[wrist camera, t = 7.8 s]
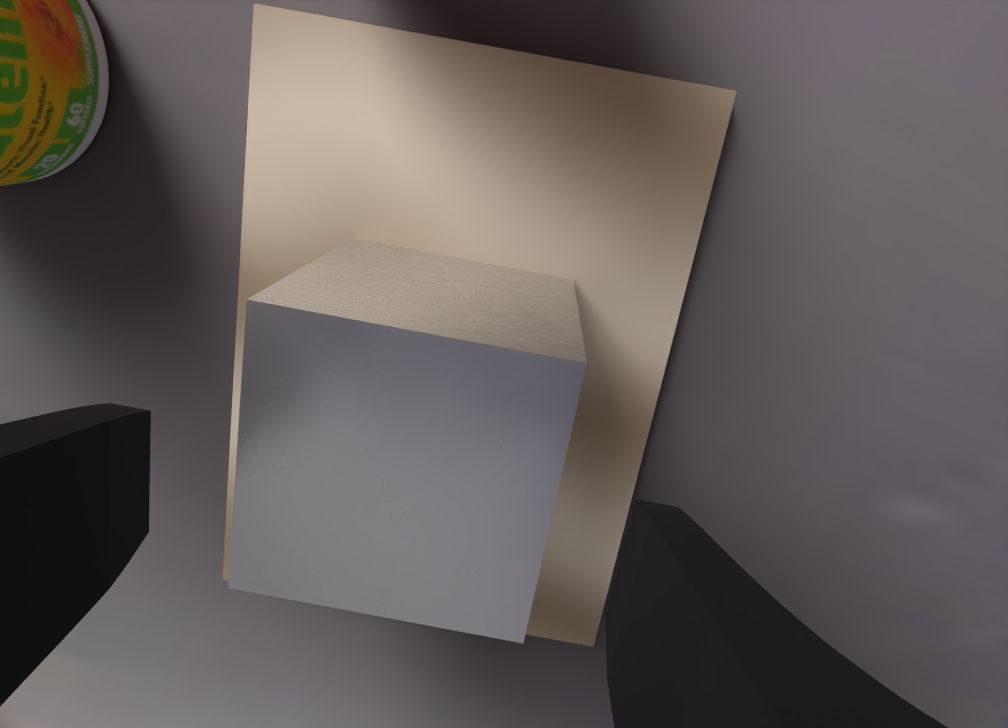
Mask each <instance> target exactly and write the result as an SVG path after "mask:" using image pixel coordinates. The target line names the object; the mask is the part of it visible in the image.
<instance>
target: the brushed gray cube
mask: <svg viewBox="0 0 1008 728" xmlns="http://www.w3.org/2000/svg"><path fill="white" fill-rule="evenodd" d="M586 365H587V361H586V354H585V348H584V342H583V336H582V330H581V324H580V318H579V311H578V305H577V299H576V293H575V287H574V281H573V279H567V278H562V277H557V276H551V275H546V274H541V273H536V272H530V271H525V270H520V269H514V268H509V267H504V266H498V265H493V264H488V263H482V262H477V261H472V260H466V259H461V258H456V257H450V256H445V255H440V254H435V253H429V252H424V251H419V250H413V249H408V248H403V247H397V246H392V245H387V244H381V243H376V242H371V241H365V240H360V239H355V238H352V239H351V240H349V241H347V242H345V243H344V244H342V245H340V246H338V247H337V248H335V249H333V250H332V251H330V252H328V253H326V254H325V255H323V256H321V257H319V258H318V259H316V260H314V261H312V262H311V263H309V264H307V265H305V266H304V267H302V268H300V269H299V270H297V271H295V272H293V273H292V274H290V275H288V276H286V277H285V278H283V279H281V280H279V281H278V282H276V283H274V284H272V285H271V286H269V287H267V288H266V289H264V290H262V291H260V292H259V293H257V294H255V295H253V296H252V297H250V298H248V299H247V301H246V317H245V332H244V347H243V363H242V378H241V394H240V409H239V424H238V440H237V455H236V470H235V486H234V501H233V517H232V532H231V547H230V563H229V578H228V588H230V589H236V590H241V591H246V592H252V593H257V594H262V595H268V596H273V597H278V598H284V599H289V600H294V601H300V602H305V603H310V604H316V605H321V606H326V607H332V608H337V609H342V610H348V611H353V612H358V613H364V614H369V615H374V616H379V617H385V618H390V619H395V620H401V621H406V622H411V623H417V624H422V625H427V626H433V627H438V628H443V629H449V630H454V631H459V632H465V633H470V634H475V635H481V636H486V637H491V638H497V639H502V640H507V641H513V642H518V643H524V638H525V634H526V629H527V625H528V621H529V616H530V612H531V607H532V603H533V599H534V594H535V590H536V585H537V581H538V577H539V572H540V568H541V563H542V559H543V555H544V550H545V546H546V541H547V537H548V533H549V528H550V524H551V519H552V515H553V511H554V506H555V502H556V497H557V493H558V489H559V484H560V480H561V475H562V471H563V467H564V462H565V458H566V453H567V449H568V445H569V440H570V436H571V431H572V427H573V423H574V418H575V414H576V409H577V405H578V401H579V396H580V392H581V387H582V383H583V379H584V374H585V370H586Z"/></svg>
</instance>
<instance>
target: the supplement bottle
mask: <svg viewBox="0 0 1008 728" xmlns="http://www.w3.org/2000/svg"><path fill="white" fill-rule="evenodd" d="M108 90H109V69H108V60H107V54H106V49H105V45H104V41H103V38H102V34H101V32H100V29H99V26H98V23H97V21H96V19H95V16H94V14H93V12H92V10H91V8H90V6H89V4H88V3H87V1H86V0H0V186H5V185H13V184H19V183H25V182H30V181H34V180H39V179H42V178H45V177H48V176H51V175H53V174H55V173H57V172H59V171H60V170H62V169H64V168H66V167H67V166H69V165H70V164H71V163H73V162H74V161H75V160H76V159H77V158H78V157H79V156H80V155H81V154H82V153H83V152H84V151H85V150H86V148H87V147H88V146H89V145H90V143H91V142H92V140H93V138H94V137H95V135H96V133H97V131H98V129H99V127H100V125H101V123H102V120H103V117H104V114H105V110H106V105H107V99H108Z"/></svg>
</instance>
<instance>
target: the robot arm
mask: <svg viewBox="0 0 1008 728" xmlns="http://www.w3.org/2000/svg"><path fill="white" fill-rule="evenodd" d="M150 427H151V411H149V410H143V409H138V408H132V407H127V406H121V405H116V404H111V403H109V404H98V405H90V406H84V407H78V408H72V409H67V410H62V411H58V412H53V413H48V414H44V415H39V416H35V417H30V418H26V419H22V420H17V421H13V422H9V423H4V424H0V706H1V705H2V704H3V703H4V702H5V701H6V700H7V699H8V697H9V696H10V695H11V694H12V693H13V692H14V691H15V690H16V689H17V688H18V687H19V686H20V685H21V684H22V682H23V681H24V680H25V679H26V678H27V677H28V676H29V675H30V674H31V673H32V672H33V671H34V670H35V669H36V668H37V666H38V665H39V664H40V663H41V662H42V661H43V660H44V659H45V658H46V657H47V656H48V655H49V654H50V653H51V652H52V650H53V649H54V648H55V647H56V646H57V645H58V644H59V643H60V642H61V641H62V640H63V639H64V638H65V637H66V636H67V634H68V633H69V632H70V631H71V630H72V629H73V628H74V627H75V626H76V625H77V624H78V623H79V621H80V620H81V619H82V618H83V617H84V616H85V615H86V614H87V613H88V612H89V611H90V609H91V608H92V607H93V606H94V605H95V604H96V603H97V602H98V601H99V600H100V598H101V597H102V596H103V595H104V594H105V593H106V592H107V591H108V590H109V588H110V587H111V586H112V584H113V583H114V582H115V580H116V579H117V578H118V576H119V575H120V573H121V572H122V571H123V569H124V568H125V567H126V565H127V564H128V562H129V561H130V559H131V558H132V556H133V555H134V553H135V552H136V550H137V549H138V547H139V546H140V544H141V543H142V541H143V540H144V538H145V537H146V535H147V534H148V532H149V485H150ZM606 650H607V679H608V687H609V694H610V701H611V707H612V714H613V721H614V727H615V728H947V727H946V726H944V725H943V724H941V723H940V722H938V721H936V720H935V719H933V718H932V717H930V716H928V715H927V714H925V713H924V712H922V711H920V710H919V709H917V708H916V707H914V706H913V705H911V704H910V703H908V702H907V701H905V700H904V699H902V698H901V697H900V696H898V695H897V694H895V693H894V692H892V691H891V690H889V689H888V688H886V687H885V686H884V685H882V684H881V683H879V682H878V681H877V680H875V679H874V678H873V677H871V676H870V675H869V674H867V673H866V672H865V671H863V670H862V669H860V668H859V667H858V666H856V665H855V664H854V663H852V662H851V661H850V660H848V659H847V658H845V657H844V656H843V655H841V654H840V653H839V652H837V651H836V650H835V649H834V648H832V647H831V646H830V645H829V644H827V643H826V642H825V641H824V640H822V639H821V638H820V637H819V636H817V635H816V634H815V633H814V632H813V631H811V630H810V629H809V628H808V627H807V626H806V625H804V624H803V623H802V622H801V621H800V620H799V619H797V618H796V617H795V616H794V615H793V614H792V613H790V612H789V611H788V610H787V609H786V608H785V607H783V606H782V605H781V604H780V603H779V602H778V601H777V600H776V599H774V598H773V597H772V596H771V595H770V594H769V593H768V592H767V591H766V590H765V589H764V588H762V587H761V586H760V585H759V584H758V583H757V582H756V581H755V580H754V579H753V578H752V577H751V576H750V575H749V574H748V573H747V572H746V571H745V570H743V569H742V568H741V567H740V566H739V565H738V564H737V563H736V562H735V561H734V560H733V559H732V558H731V557H730V556H729V555H728V554H727V553H726V552H725V551H724V550H723V549H722V548H721V547H720V546H719V545H718V544H717V543H716V542H715V541H714V540H713V539H712V538H711V537H710V536H709V535H708V534H707V533H706V532H705V531H704V530H703V529H702V528H701V527H700V526H699V525H698V524H697V523H696V522H694V521H693V520H692V519H691V518H690V517H689V516H688V515H687V514H686V513H685V512H683V511H682V510H681V509H679V508H678V507H674V506H669V505H663V504H658V503H652V502H647V501H641V500H636V503H635V507H634V511H633V514H632V518H631V522H630V526H629V530H628V534H627V537H626V541H625V545H624V549H623V553H622V557H621V561H620V564H619V568H618V572H617V576H616V580H615V584H614V588H613V591H612V595H611V599H610V603H609V607H608V611H607V615H606Z"/></svg>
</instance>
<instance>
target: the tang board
mask: <svg viewBox="0 0 1008 728" xmlns="http://www.w3.org/2000/svg"><path fill="white" fill-rule="evenodd" d="M736 92H737V91H735V90H729V89H724V88H718V87H713V86H707V85H702V84H696V83H691V82H685V81H680V80H674V79H669V78H663V77H658V76H652V75H647V74H641V73H636V72H630V71H625V70H619V69H614V68H608V67H602V66H597V65H591V64H586V63H580V62H575V61H569V60H564V59H558V58H553V57H547V56H542V55H536V54H531V53H525V52H520V51H514V50H509V49H503V48H498V47H492V46H487V45H481V44H476V43H470V42H465V41H459V40H454V39H448V38H442V37H437V36H431V35H426V34H420V33H415V32H409V31H404V30H398V29H393V28H387V27H382V26H376V25H371V24H365V23H360V22H354V21H349V20H343V19H338V18H332V17H327V16H321V15H316V14H310V13H305V12H299V11H294V10H288V9H282V8H277V7H271V6H266V5H260V4H255V3H254V11H253V30H252V48H251V67H250V85H249V103H248V122H247V140H246V158H245V177H244V195H243V214H242V232H241V250H240V269H239V287H238V305H237V324H236V342H235V361H234V379H233V397H232V416H231V434H230V452H229V471H228V489H227V508H226V526H225V544H224V563H223V579H224V580H228V578H229V563H230V547H231V532H232V517H233V501H234V486H235V470H236V455H237V440H238V424H239V409H240V394H241V378H242V363H243V347H244V332H245V317H246V301H247V299H248V298H250V297H252V296H253V295H255V294H257V293H259V292H260V291H262V290H264V289H266V288H267V287H269V286H271V285H272V284H274V283H276V282H278V281H279V280H281V279H283V278H285V277H286V276H288V275H290V274H292V273H293V272H295V271H297V270H299V269H300V268H302V267H304V266H305V265H307V264H309V263H311V262H312V261H314V260H316V259H318V258H319V257H321V256H323V255H325V254H326V253H328V252H330V251H332V250H333V249H335V248H337V247H338V246H340V245H342V244H344V243H345V242H347V241H349V240H351V239H352V238H355V239H360V240H365V241H371V242H376V243H381V244H387V245H392V246H397V247H403V248H408V249H413V250H419V251H424V252H429V253H435V254H440V255H445V256H450V257H456V258H461V259H466V260H472V261H477V262H482V263H488V264H493V265H498V266H504V267H509V268H514V269H520V270H525V271H530V272H536V273H541V274H546V275H551V276H557V277H562V278H567V279H573V281H574V287H575V293H576V299H577V305H578V311H579V318H580V324H581V330H582V336H583V342H584V348H585V354H586V361H587V365H586V370H585V374H584V379H583V383H582V387H581V392H580V396H579V401H578V405H577V409H576V414H575V418H574V423H573V427H572V431H571V436H570V440H569V445H568V449H567V453H566V458H565V462H564V467H563V471H562V475H561V480H560V484H559V489H558V493H557V497H556V502H555V506H554V511H553V515H552V519H551V524H550V528H549V533H548V537H547V541H546V546H545V550H544V555H543V559H542V563H541V568H540V572H539V577H538V581H537V585H536V590H535V594H534V599H533V603H532V607H531V612H530V616H529V621H528V625H527V629H526V634H525V635H531V636H536V637H542V638H547V639H553V640H558V641H564V642H569V643H575V644H580V645H586V646H591V647H594V643H595V639H596V635H597V632H598V628H599V624H600V620H601V616H602V612H603V608H604V604H605V600H606V597H607V593H608V589H609V585H610V581H611V577H612V573H613V569H614V566H615V562H616V558H617V554H618V550H619V546H620V542H621V538H622V535H623V531H624V527H625V523H626V519H627V515H628V511H629V507H630V504H631V500H632V496H633V492H634V488H635V484H636V480H637V476H638V473H639V469H640V465H641V461H642V457H643V453H644V449H645V445H646V441H647V438H648V434H649V430H650V426H651V422H652V418H653V414H654V410H655V407H656V403H657V399H658V395H659V391H660V387H661V383H662V379H663V376H664V372H665V368H666V364H667V360H668V356H669V352H670V348H671V345H672V341H673V337H674V333H675V329H676V325H677V321H678V317H679V313H680V310H681V306H682V302H683V298H684V294H685V290H686V286H687V282H688V279H689V275H690V271H691V267H692V263H693V259H694V255H695V251H696V248H697V244H698V240H699V236H700V232H701V228H702V224H703V220H704V217H705V213H706V209H707V205H708V201H709V197H710V193H711V189H712V186H713V182H714V178H715V174H716V170H717V166H718V162H719V158H720V154H721V151H722V147H723V143H724V139H725V135H726V131H727V127H728V123H729V120H730V116H731V112H732V108H733V104H734V100H735V96H736Z"/></svg>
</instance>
